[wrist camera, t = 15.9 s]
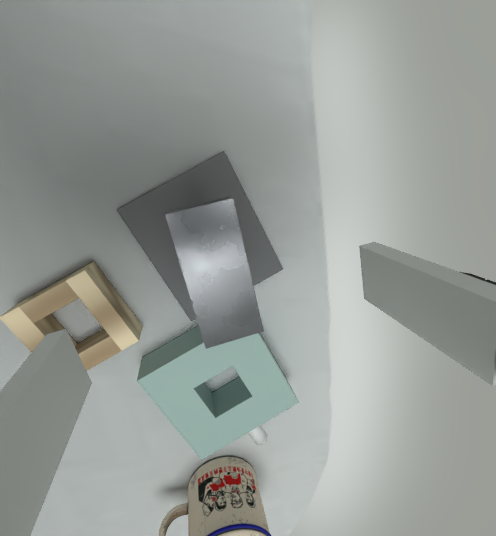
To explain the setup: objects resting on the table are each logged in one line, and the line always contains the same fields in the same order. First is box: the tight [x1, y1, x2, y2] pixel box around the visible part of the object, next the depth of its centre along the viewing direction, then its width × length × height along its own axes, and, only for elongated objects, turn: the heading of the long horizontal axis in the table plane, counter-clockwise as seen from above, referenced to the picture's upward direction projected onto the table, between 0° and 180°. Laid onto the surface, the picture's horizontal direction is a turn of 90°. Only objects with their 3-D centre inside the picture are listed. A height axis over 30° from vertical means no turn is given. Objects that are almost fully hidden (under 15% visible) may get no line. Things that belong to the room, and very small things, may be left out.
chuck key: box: [165, 196, 263, 349], centre depth 25 cm, size 4×9×12 cm, turn 12°
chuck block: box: [137, 325, 299, 460], centre depth 33 cm, size 16×12×4 cm
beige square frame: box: [0, 262, 143, 371], centre depth 29 cm, size 8×8×3 cm
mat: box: [117, 151, 283, 321], centre depth 30 cm, size 13×11×1 cm
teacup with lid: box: [159, 457, 271, 536], centre depth 34 cm, size 12×9×12 cm
